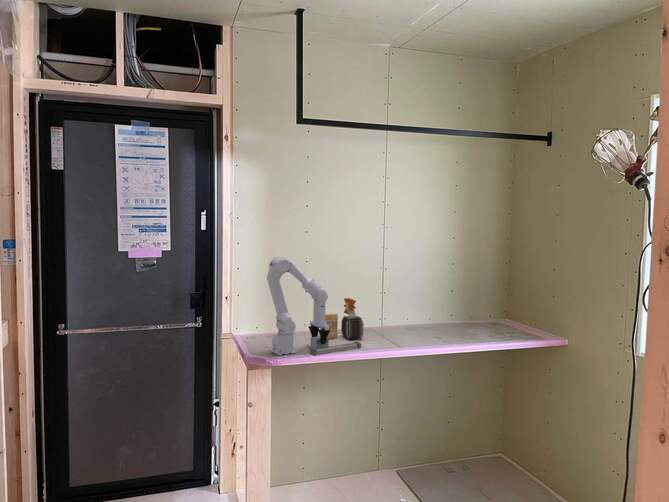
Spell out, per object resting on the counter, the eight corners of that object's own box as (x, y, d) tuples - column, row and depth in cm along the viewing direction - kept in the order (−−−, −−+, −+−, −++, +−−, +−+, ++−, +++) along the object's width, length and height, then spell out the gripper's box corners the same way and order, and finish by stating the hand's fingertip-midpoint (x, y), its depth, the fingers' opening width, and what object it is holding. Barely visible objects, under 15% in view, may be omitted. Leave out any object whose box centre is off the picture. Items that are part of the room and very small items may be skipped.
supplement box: (324, 340, 246) (325, 314, 245) (319, 338, 250) (320, 313, 249) (337, 338, 251) (338, 313, 250) (332, 336, 254) (332, 312, 254)
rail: (314, 355, 215) (314, 350, 215) (310, 353, 219) (310, 348, 219) (361, 348, 230) (361, 343, 230) (356, 346, 233) (356, 341, 233)
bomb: (349, 340, 244) (350, 302, 243) (339, 335, 257) (340, 298, 256) (363, 339, 247) (363, 301, 246) (352, 334, 260) (353, 298, 259)
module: (316, 351, 224) (316, 339, 224) (310, 348, 228) (310, 336, 228) (328, 349, 228) (328, 337, 227) (322, 346, 232) (322, 335, 232)
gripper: (334, 315, 223) (334, 344, 224) (318, 311, 235) (318, 338, 236) (322, 317, 219) (321, 346, 220) (306, 312, 231) (305, 340, 232)
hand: (318, 342), depth 228 cm, fingers open, 7 cm apart
